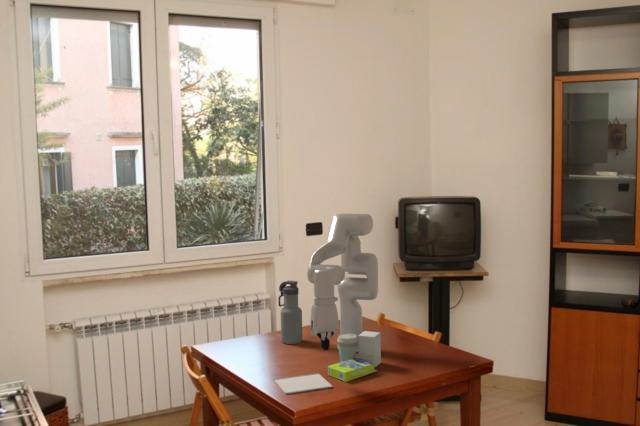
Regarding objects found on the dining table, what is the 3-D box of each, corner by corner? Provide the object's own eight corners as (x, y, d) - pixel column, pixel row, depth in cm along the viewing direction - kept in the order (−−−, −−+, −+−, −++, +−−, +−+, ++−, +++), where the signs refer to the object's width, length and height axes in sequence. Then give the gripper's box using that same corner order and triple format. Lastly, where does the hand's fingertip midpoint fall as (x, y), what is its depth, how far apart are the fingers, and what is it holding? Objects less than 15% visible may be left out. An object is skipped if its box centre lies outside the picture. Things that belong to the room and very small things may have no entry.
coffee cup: (352, 369, 259) (351, 340, 258) (333, 366, 264) (333, 337, 263) (362, 363, 266) (361, 334, 265) (344, 360, 271) (343, 332, 270)
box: (327, 365, 252) (360, 355, 263) (327, 375, 253) (360, 365, 264) (345, 372, 244) (378, 361, 255) (345, 383, 245) (378, 372, 256)
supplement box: (381, 362, 267) (381, 332, 266) (375, 367, 261) (374, 336, 260) (364, 360, 271) (364, 330, 270) (358, 365, 264) (357, 335, 263)
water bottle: (276, 342, 298) (274, 282, 296) (288, 337, 306) (287, 278, 304) (294, 345, 293) (293, 284, 290) (306, 340, 301) (305, 280, 299)
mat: (318, 374, 254) (318, 373, 254) (333, 387, 239) (333, 386, 239) (273, 380, 248) (273, 379, 248) (286, 394, 233) (286, 393, 233)
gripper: (339, 297, 250) (339, 344, 252) (302, 301, 245) (303, 349, 247) (346, 301, 243) (347, 349, 245) (308, 305, 238) (309, 354, 240)
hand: (325, 349), depth 246 cm, fingers closed
